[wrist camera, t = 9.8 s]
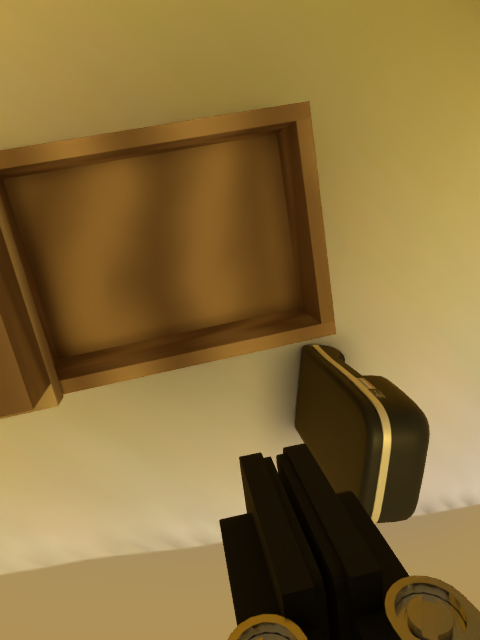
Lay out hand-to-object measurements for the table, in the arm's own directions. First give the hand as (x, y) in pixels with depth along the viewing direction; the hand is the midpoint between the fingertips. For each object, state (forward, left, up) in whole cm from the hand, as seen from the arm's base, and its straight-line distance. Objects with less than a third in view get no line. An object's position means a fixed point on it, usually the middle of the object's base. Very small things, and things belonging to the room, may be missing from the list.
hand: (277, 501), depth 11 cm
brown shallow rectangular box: (+2, -5, -19) cm, 20 cm away
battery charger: (-7, +7, -20) cm, 22 cm away
